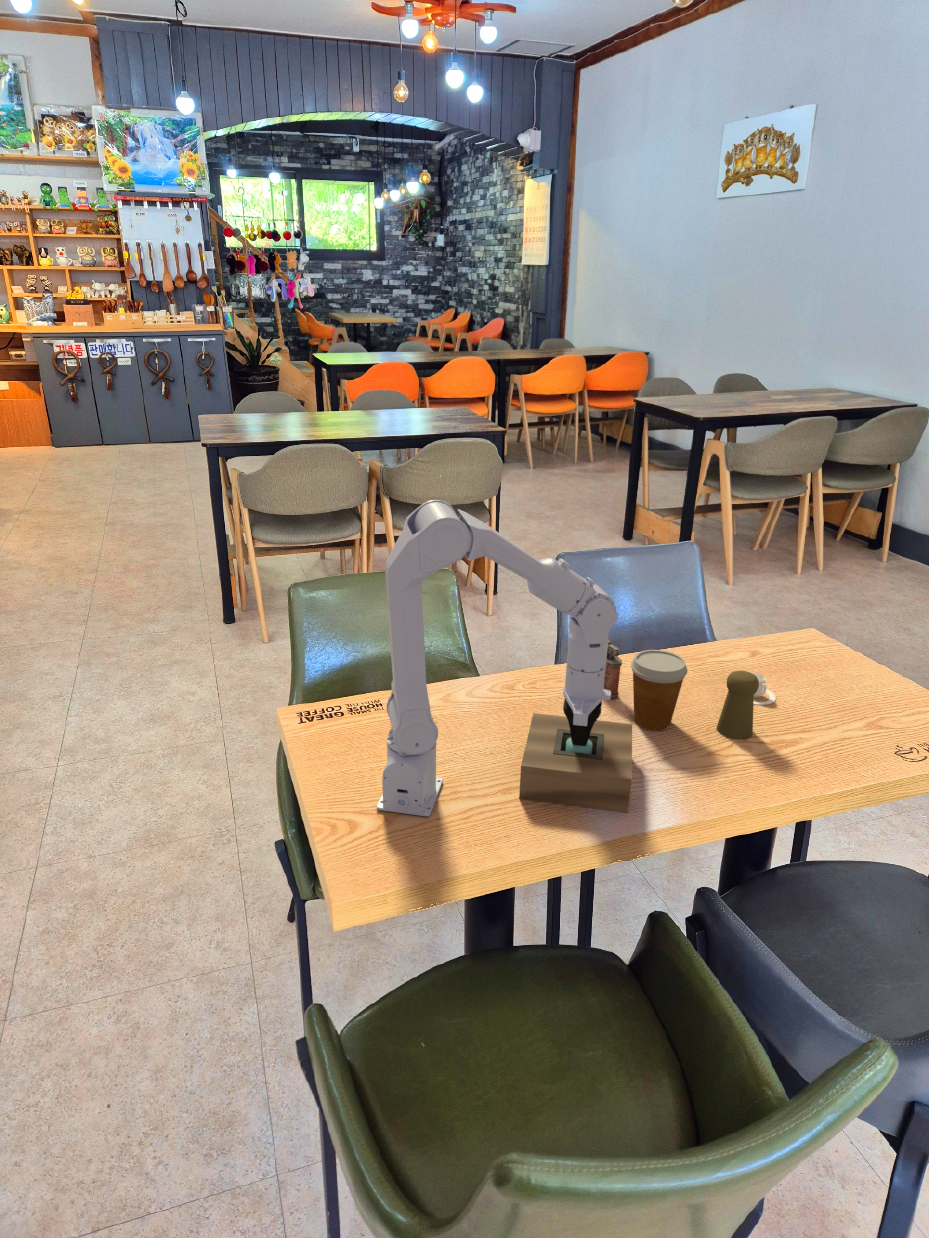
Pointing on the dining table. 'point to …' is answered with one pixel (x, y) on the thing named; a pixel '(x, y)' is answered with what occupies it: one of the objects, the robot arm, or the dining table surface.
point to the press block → (577, 765)
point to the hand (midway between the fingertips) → (579, 743)
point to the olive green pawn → (738, 706)
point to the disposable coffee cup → (656, 687)
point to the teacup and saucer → (763, 691)
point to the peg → (579, 747)
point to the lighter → (612, 670)
